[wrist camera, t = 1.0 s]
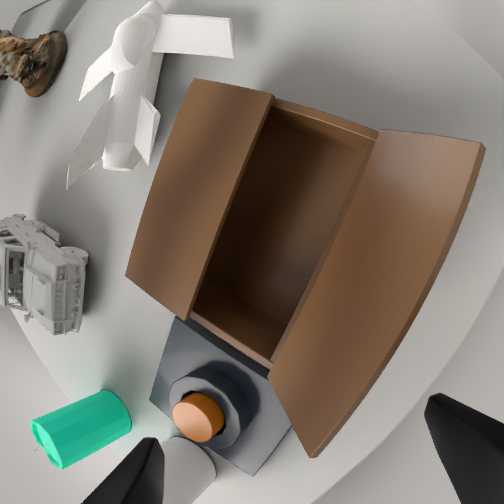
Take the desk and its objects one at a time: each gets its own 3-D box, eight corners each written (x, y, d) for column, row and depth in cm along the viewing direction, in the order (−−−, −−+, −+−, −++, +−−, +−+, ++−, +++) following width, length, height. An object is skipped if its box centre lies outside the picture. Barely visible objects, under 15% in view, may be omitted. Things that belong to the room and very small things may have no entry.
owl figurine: (81, 39, 32) (-16, 7, 17) (45, 111, 36) (-53, 94, 20) (50, 28, 38) (-21, 6, 22) (23, 83, 41) (-49, 69, 26)
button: (231, 411, 21) (218, 422, 19) (216, 439, 22) (203, 450, 20) (192, 383, 22) (178, 392, 21) (181, 413, 23) (167, 422, 21)
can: (159, 429, 28) (72, 483, 17) (210, 441, 25) (120, 514, 14) (175, 474, 28) (100, 530, 17) (224, 488, 25) (150, 560, 14)
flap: (380, 128, 12) (386, 132, 12) (266, 376, 15) (273, 377, 15) (481, 142, 7) (486, 148, 8) (309, 458, 10) (317, 457, 11)
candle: (92, 389, 33) (14, 421, 22) (118, 388, 30) (29, 427, 20) (111, 431, 32) (38, 469, 22) (139, 435, 30) (58, 481, 19)
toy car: (98, 339, 31) (21, 362, 22) (27, 272, 39) (-29, 279, 30) (107, 252, 29) (18, 259, 20) (33, 206, 37) (-27, 206, 28)
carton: (388, 159, 18) (382, 128, 12) (304, 340, 21) (267, 378, 15) (243, 109, 22) (192, 76, 16) (183, 266, 25) (123, 275, 19)
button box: (312, 395, 21) (299, 416, 18) (258, 469, 23) (243, 489, 21) (183, 313, 25) (159, 321, 23) (156, 395, 28) (135, 407, 25)
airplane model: (257, -12, 20) (212, -62, 14) (231, 202, 23) (159, 192, 16) (108, 39, 29) (61, 19, 22) (78, 194, 31) (21, 191, 25)
